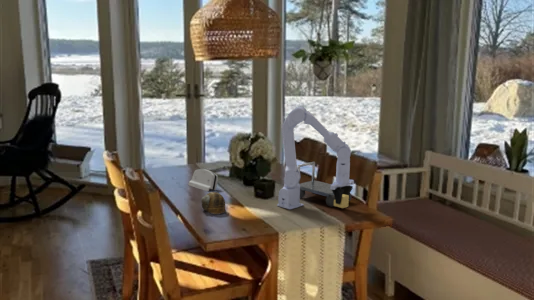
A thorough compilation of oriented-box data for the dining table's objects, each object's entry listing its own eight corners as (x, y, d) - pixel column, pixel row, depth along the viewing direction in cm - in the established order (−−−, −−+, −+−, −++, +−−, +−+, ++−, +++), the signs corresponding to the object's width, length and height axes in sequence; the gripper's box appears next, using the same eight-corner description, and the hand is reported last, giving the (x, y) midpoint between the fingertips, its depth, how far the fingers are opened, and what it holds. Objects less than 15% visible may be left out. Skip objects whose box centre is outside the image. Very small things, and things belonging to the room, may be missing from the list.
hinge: (187, 185, 254) (192, 166, 254) (194, 186, 257) (199, 167, 258) (208, 191, 242) (213, 171, 243) (215, 193, 246) (220, 173, 246)
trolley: (333, 208, 220) (335, 173, 217) (293, 196, 236) (294, 164, 233) (352, 202, 230) (353, 169, 227) (312, 191, 246) (313, 160, 243)
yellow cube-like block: (342, 208, 216) (343, 197, 215) (333, 205, 219) (334, 194, 218) (348, 206, 218) (348, 195, 218) (339, 204, 222) (339, 193, 221)
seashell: (197, 209, 214) (197, 191, 213) (216, 206, 220) (216, 188, 218) (210, 216, 205) (210, 197, 204) (229, 212, 211) (229, 194, 209)
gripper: (340, 176, 208) (338, 208, 211) (360, 171, 218) (358, 201, 221) (326, 173, 213) (325, 204, 215) (347, 168, 223) (345, 198, 226)
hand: (341, 202), depth 218 cm, fingers closed on yellow cube-like block, 4 cm apart
